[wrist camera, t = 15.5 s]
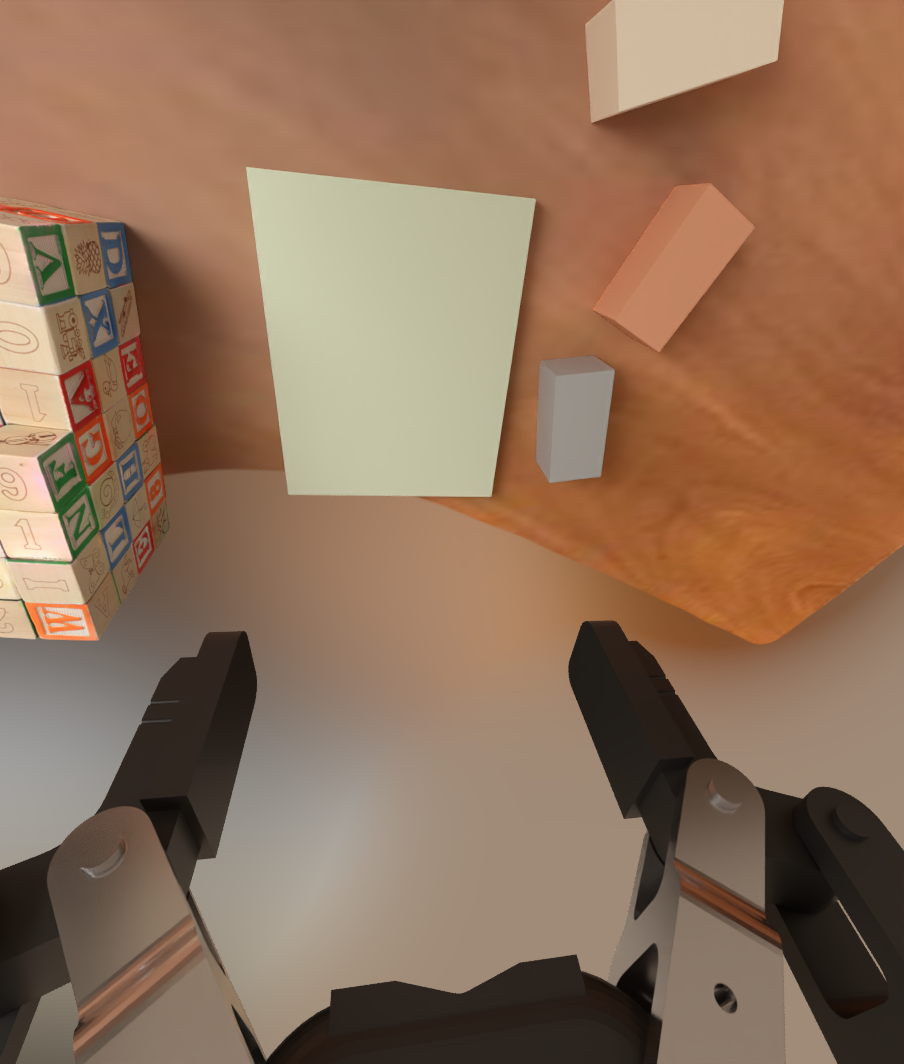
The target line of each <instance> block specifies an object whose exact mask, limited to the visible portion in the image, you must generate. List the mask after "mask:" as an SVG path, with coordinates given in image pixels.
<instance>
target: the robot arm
mask: <svg viewBox="0 0 904 1064" xmlns="http://www.w3.org/2000/svg"><path fill="white" fill-rule="evenodd" d="M568 668H569V671H568V672H569V680H570V684H571V687H572V690H573V692H574V695H575V697H576V700H577V702H578V705H579V707H580V710H581V712H582V715H583V717H584V720H585V722H586V724H587V727H588V730H589V732H590V735H591V737H592V740H593V742H594V745H595V747H596V750H597V752H598V755H599V757H600V760H601V762H602V765H603V767H604V770H605V772H606V775H607V777H608V780H609V782H610V785H611V787H612V790H613V792H614V795H615V797H616V800H617V802H618V805H619V808H620V810H621V812H622V815H623V817H624V819H627V818H638V817H642V818H643V821H644V823H645V825H646V828H647V831H646V833H645V836H644V839H643V844H642V849H641V854H640V858H639V863H638V868H637V873H636V877H635V882H634V887H633V892H632V896H631V901H630V906H629V911H628V916H627V920H626V924H625V927H624V930H623V933H622V936H621V938H620V940H619V942H618V945H617V947H616V951H615V954H614V956H613V960H612V964H611V968H610V972H609V976H608V981H605V980H603V979H601V978H599V977H597V976H594V975H592V974H589V973H587V972H583V971H581V970H580V966H579V962H578V958H577V955H570V956H563V957H556V958H549V959H542V960H535V961H529V962H522V963H519V964H517V965H515V966H513V967H511V968H509V969H508V970H506V971H504V972H502V973H500V974H499V975H497V976H495V977H493V978H491V979H489V980H488V981H486V982H484V983H482V984H480V985H478V986H476V987H475V988H473V989H471V990H469V991H467V992H465V993H461V994H456V993H450V992H445V991H440V990H436V989H431V988H427V987H422V986H417V985H412V984H407V983H403V982H398V981H391V982H384V983H377V984H370V985H364V986H357V987H349V988H343V989H336V990H331V1003H330V1006H329V1007H327V1008H326V1009H323V1010H322V1011H320V1012H318V1013H316V1014H315V1015H314V1016H312V1017H311V1018H309V1019H308V1020H306V1021H305V1022H304V1023H302V1024H301V1025H300V1026H299V1027H297V1028H296V1029H295V1030H294V1031H293V1032H292V1033H291V1034H290V1035H289V1036H287V1037H286V1039H285V1040H284V1041H283V1042H282V1043H281V1044H280V1045H279V1046H278V1047H277V1048H276V1049H275V1051H274V1052H273V1053H272V1054H271V1055H270V1056H269V1058H268V1059H267V1058H266V1056H265V1054H264V1052H263V1049H262V1047H261V1045H260V1043H259V1040H258V1038H257V1036H256V1034H255V1031H254V1029H253V1027H252V1025H251V1022H250V1020H249V1018H248V1016H247V1014H246V1011H245V1009H244V1008H243V1005H242V1003H241V1001H240V999H239V997H238V995H237V993H236V991H235V989H234V987H233V985H232V983H231V981H230V979H229V976H228V974H227V972H226V970H225V967H224V965H223V963H222V961H221V959H220V956H219V954H218V952H217V949H216V947H215V945H214V943H213V940H212V938H211V936H210V933H209V931H208V929H207V927H206V924H205V922H204V920H203V918H202V915H201V913H200V911H199V908H198V906H197V904H196V902H195V899H194V897H193V895H192V893H191V890H190V888H189V886H190V882H191V879H192V876H193V872H194V869H195V865H196V861H197V860H199V859H208V858H215V857H216V854H217V850H218V846H219V842H220V838H221V834H222V831H223V827H224V823H225V819H226V815H227V811H228V806H229V803H230V799H231V795H232V791H233V787H234V783H235V779H236V775H237V771H238V767H239V763H240V759H241V755H242V751H243V747H244V743H245V739H246V736H247V732H248V728H249V724H250V720H251V716H252V712H253V708H254V704H255V699H256V692H257V676H256V671H255V666H254V662H253V658H252V653H251V649H250V645H249V641H248V636H247V634H246V632H245V631H238V632H210V633H208V634H207V635H206V637H205V638H204V641H203V643H202V646H201V648H200V650H199V653H198V656H197V657H191V658H190V657H188V658H180V659H179V660H178V661H177V662H176V663H175V664H174V665H173V666H172V667H171V668H170V669H169V670H168V672H167V673H166V674H165V675H164V676H163V677H162V678H161V680H160V682H159V684H158V686H157V688H156V690H155V693H154V695H153V697H152V699H151V704H150V705H149V706H148V707H147V710H146V712H145V714H144V716H143V718H142V724H141V725H139V727H138V729H137V731H136V733H135V735H134V738H133V740H132V742H131V744H130V746H129V748H128V750H127V753H126V755H125V757H124V759H123V761H122V763H121V766H120V768H119V770H118V772H117V774H116V776H115V778H114V781H113V783H112V785H111V787H110V789H109V791H108V794H107V796H106V798H105V800H104V801H103V803H102V805H101V807H100V808H99V810H98V811H97V812H96V814H95V815H94V816H92V817H91V818H89V819H88V820H86V821H85V822H83V823H82V824H80V825H79V826H78V827H77V828H76V829H75V830H74V831H72V832H71V833H70V835H68V837H67V838H66V839H65V840H64V841H63V843H62V844H61V845H59V846H57V847H56V848H53V849H52V850H50V851H47V852H45V853H43V854H41V855H38V856H36V857H33V858H30V859H28V860H25V861H23V862H20V863H18V864H15V865H12V866H10V867H7V868H5V869H2V870H0V1064H16V1061H17V1058H18V1056H19V1053H20V1050H21V1048H22V1045H23V1043H24V1040H25V1037H26V1035H27V1032H28V1030H29V1027H30V1024H31V1022H32V1019H33V1016H34V1014H35V1011H36V1009H37V1006H38V1003H39V1001H40V998H41V996H43V995H45V994H47V993H49V992H51V991H53V990H55V989H57V988H59V987H61V986H63V985H65V984H67V983H69V982H71V984H72V987H73V991H74V996H75V1000H76V1004H77V1008H78V1014H79V1023H78V1026H77V1027H76V1029H75V1031H74V1037H73V1047H74V1055H75V1062H76V1064H786V1060H785V1014H784V969H783V954H784V956H785V958H786V961H787V963H788V965H789V967H790V969H791V971H792V973H793V975H794V976H795V979H796V981H797V983H798V984H799V987H800V989H801V991H802V992H803V995H804V997H805V999H806V1001H807V1003H808V1005H809V1007H810V1009H811V1011H812V1013H813V1015H814V1017H815V1019H816V1021H817V1023H818V1025H819V1027H820V1029H821V1031H822V1033H823V1035H824V1037H825V1039H826V1041H827V1043H828V1045H829V1047H830V1049H831V1051H832V1053H833V1055H834V1057H835V1059H836V1061H837V1064H904V851H903V849H902V848H901V847H900V845H899V844H898V843H897V841H896V840H895V839H894V837H893V836H892V835H891V833H890V832H889V831H888V830H887V828H886V827H885V826H884V824H883V823H882V822H881V821H880V819H879V818H878V817H877V816H876V815H875V814H874V813H873V812H872V811H871V810H870V809H869V808H867V807H866V806H865V805H864V804H863V803H861V802H860V801H859V800H857V799H855V798H854V797H852V796H851V795H849V794H847V793H845V792H843V791H840V790H837V789H834V788H830V787H817V788H815V789H813V790H812V791H810V792H809V793H808V794H807V795H806V797H804V798H803V799H801V798H797V797H793V796H789V795H785V794H781V793H777V792H773V791H769V790H765V789H762V788H758V787H755V786H754V785H753V784H752V782H751V781H750V780H749V779H748V778H747V777H746V776H745V775H744V774H743V773H741V772H740V771H739V770H737V769H736V768H735V767H733V766H731V765H729V764H728V763H725V762H723V761H720V760H718V759H717V758H716V757H715V755H714V754H713V752H712V751H711V749H710V747H709V746H708V744H707V742H706V741H705V739H704V738H703V736H702V734H701V733H700V731H699V729H698V728H697V726H696V724H695V723H694V721H693V720H692V718H691V716H690V715H689V713H688V711H687V710H686V708H685V706H684V705H683V703H682V702H681V700H680V698H679V697H678V695H676V694H675V690H674V688H673V687H672V685H671V684H670V682H669V680H668V679H666V677H665V674H664V672H663V670H662V669H661V667H660V665H659V664H658V662H657V660H656V659H655V657H654V656H653V655H651V654H650V653H649V652H648V651H647V650H646V649H645V648H644V647H643V646H642V645H641V644H639V643H638V642H637V641H628V639H627V638H626V636H625V634H624V632H623V631H622V629H621V627H620V626H619V624H618V623H617V622H615V621H585V622H583V623H582V625H581V627H580V630H579V633H578V636H577V639H576V642H575V645H574V648H573V651H572V655H571V658H570V661H569V667H568ZM838 900H840V902H841V904H842V906H843V907H844V909H845V910H846V912H847V914H848V915H849V917H850V919H851V920H852V922H853V923H854V925H855V927H856V928H857V930H858V932H859V933H860V935H861V937H862V938H863V940H864V941H865V943H866V945H867V946H868V948H869V949H870V951H871V953H872V954H873V956H874V958H875V959H876V961H877V963H878V964H879V966H880V968H881V969H882V971H883V974H884V976H885V978H886V980H885V979H884V977H883V975H882V974H881V972H880V970H879V969H878V967H877V966H876V964H875V962H874V961H873V959H872V957H871V956H870V954H869V952H868V951H867V949H866V948H865V946H864V944H863V943H862V941H861V939H860V938H859V936H858V934H857V933H856V931H855V930H854V928H853V926H852V925H851V923H850V922H849V920H848V918H847V917H846V915H845V913H844V912H843V910H842V908H841V907H840V905H839V903H838V902H837V901H838ZM766 920H767V921H766ZM767 922H768V923H767ZM886 981H887V982H886Z"/></svg>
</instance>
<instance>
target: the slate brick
mask: <svg viewBox="0 0 904 1064" xmlns="http://www.w3.org/2000/svg"><path fill="white" fill-rule="evenodd" d="M614 374H615V370H614V369H613V368H612V367H610V366H609V365H607V364H606V363H604V362H603V361H601V360H600V359H599V358H597V357H596V356H594V355H589V356H580V357H570V358H561V359H551V360H541V361H540V370H539V394H538V418H537V443H536V462H537V463H538V465H539V467H540V468H541V470H542V472H543V473H544V475H545V476H546V478H547V480H548V481H549V483H553V482H561V481H569V480H577V479H586V478H594V477H601V472H602V464H603V457H604V449H605V442H606V434H607V427H608V419H609V412H610V404H611V397H612V389H613V382H614Z"/></svg>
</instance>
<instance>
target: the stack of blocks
mask: <svg viewBox="0 0 904 1064" xmlns="http://www.w3.org/2000/svg"><path fill="white" fill-rule="evenodd" d="M140 332H141V331H140V325H139V318H138V312H137V305H136V298H135V291H134V286H133V283H132V275H131V267H130V260H129V255H128V249H127V242H126V236H125V229H124V225H123V223H122V222H121V221H116V220H111V219H106V218H101V217H97V216H92V215H87V214H83V213H78V212H73V211H68V210H63V209H59V208H56V207H52V206H47V205H42V204H38V203H33V202H28V201H23V200H18V199H12V198H5V197H0V637H6V638H24V639H36V638H37V637H38V636H39V637H40V638H42V639H55V640H57V639H58V640H99V639H100V638H101V636H102V635H103V633H104V631H105V630H106V628H107V626H108V624H109V623H110V622H111V620H112V618H113V616H114V615H115V613H116V611H117V609H118V608H119V606H120V605H121V604H122V603H123V602H124V600H125V598H126V596H127V595H128V594H129V592H130V591H131V589H132V587H133V586H134V584H135V583H136V581H137V580H138V575H139V574H140V573H141V571H142V570H143V568H144V567H145V565H146V563H147V562H148V560H149V558H150V557H151V555H152V553H153V551H154V550H155V549H157V548H158V546H159V544H160V543H161V541H162V540H163V538H164V536H165V534H166V533H167V531H168V529H169V521H168V514H167V507H166V500H165V497H166V492H165V485H164V478H163V473H162V466H161V459H160V451H159V444H158V437H157V431H156V426H155V424H154V423H153V415H152V409H151V403H150V396H149V390H148V384H147V382H146V376H145V369H144V362H143V356H142V349H141V343H140V338H139V334H140Z"/></svg>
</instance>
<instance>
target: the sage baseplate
mask: <svg viewBox="0 0 904 1064" xmlns="http://www.w3.org/2000/svg"><path fill="white" fill-rule="evenodd" d="M246 170H247V178H248V186H249V193H250V201H251V209H252V217H253V224H254V232H255V240H256V248H257V256H258V263H259V271H260V279H261V287H262V294H263V302H264V310H265V318H266V326H267V333H268V341H269V349H270V357H271V364H272V372H273V380H274V388H275V396H276V403H277V411H278V419H279V427H280V434H281V442H282V450H283V458H284V466H285V473H286V481H287V489H288V495H356V496H365V495H366V496H455V497H491V495H492V489H493V482H494V475H495V469H496V462H497V455H498V449H499V442H500V435H501V429H502V422H503V415H504V409H505V402H506V395H507V389H508V382H509V375H510V369H511V362H512V355H513V349H514V342H515V335H516V329H517V322H518V315H519V309H520V302H521V295H522V289H523V282H524V275H525V269H526V262H527V255H528V249H529V242H530V235H531V229H532V222H533V215H534V209H535V202H536V199H533V198H524V197H515V196H506V195H497V194H488V193H478V192H469V191H460V190H451V189H442V188H433V187H424V186H415V185H405V184H396V183H387V182H378V181H369V180H360V179H351V178H341V177H332V176H323V175H314V174H305V173H296V172H287V171H278V170H268V169H259V168H250V167H246Z"/></svg>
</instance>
